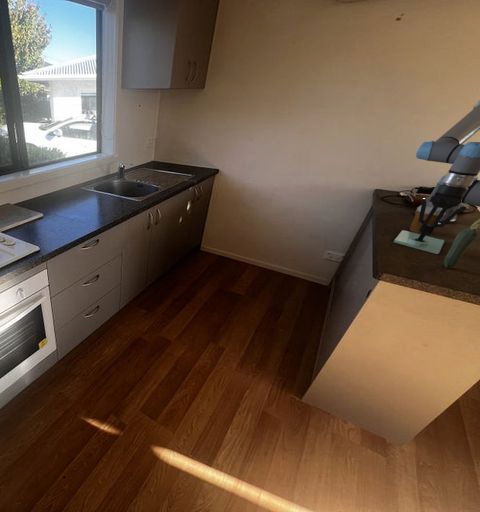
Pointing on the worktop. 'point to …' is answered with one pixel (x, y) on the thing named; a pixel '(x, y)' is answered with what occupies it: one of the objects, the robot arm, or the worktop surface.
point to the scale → (409, 240)
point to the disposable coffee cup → (417, 225)
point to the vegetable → (461, 244)
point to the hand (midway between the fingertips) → (420, 239)
